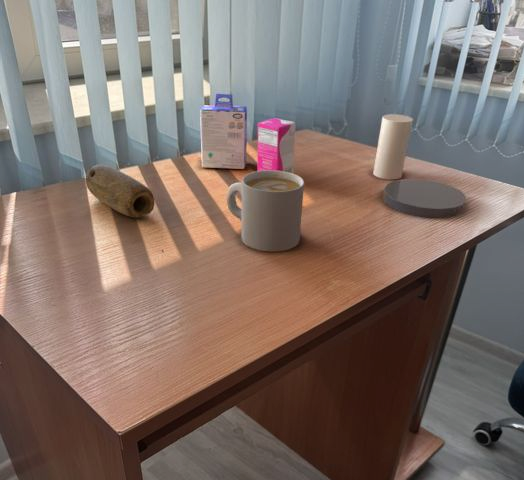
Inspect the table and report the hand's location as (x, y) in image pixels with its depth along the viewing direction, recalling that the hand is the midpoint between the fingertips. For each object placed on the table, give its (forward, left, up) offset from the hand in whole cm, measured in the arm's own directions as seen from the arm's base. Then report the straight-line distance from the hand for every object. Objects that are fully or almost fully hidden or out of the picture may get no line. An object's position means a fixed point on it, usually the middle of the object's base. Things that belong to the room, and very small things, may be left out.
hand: (461, 2), depth 101 cm
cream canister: (+11, +2, -32) cm, 34 cm away
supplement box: (+36, 0, -33) cm, 49 cm away
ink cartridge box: (+45, -10, -33) cm, 57 cm away
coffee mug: (+46, +27, -33) cm, 63 cm away
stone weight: (+69, +11, -33) cm, 78 cm away
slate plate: (+10, +18, -32) cm, 39 cm away
